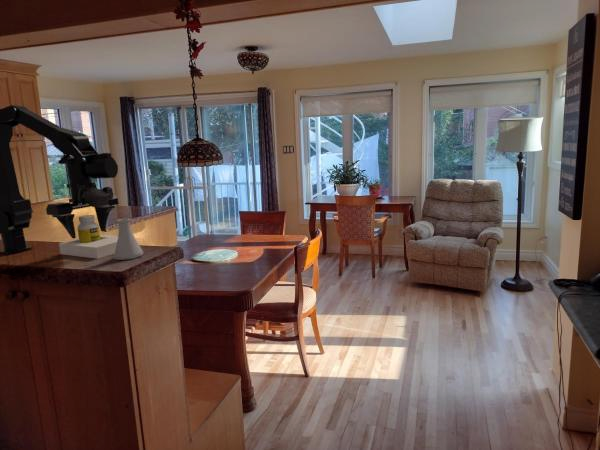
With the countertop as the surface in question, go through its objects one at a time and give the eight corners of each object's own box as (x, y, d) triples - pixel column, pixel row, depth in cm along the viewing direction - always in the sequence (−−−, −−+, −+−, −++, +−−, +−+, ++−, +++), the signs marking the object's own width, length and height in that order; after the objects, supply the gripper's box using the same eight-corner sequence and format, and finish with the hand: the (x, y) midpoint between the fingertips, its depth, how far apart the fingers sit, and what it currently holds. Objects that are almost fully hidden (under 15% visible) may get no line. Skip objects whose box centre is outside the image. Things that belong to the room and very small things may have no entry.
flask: (133, 260, 111) (128, 221, 109) (108, 261, 113) (102, 222, 111) (148, 253, 118) (143, 216, 116) (124, 253, 120) (118, 217, 118)
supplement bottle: (94, 252, 123) (88, 217, 121) (76, 252, 124) (71, 218, 122) (105, 247, 128) (100, 214, 126) (88, 247, 129) (83, 214, 127)
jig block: (60, 254, 123) (59, 243, 123) (98, 243, 134) (97, 234, 133) (98, 258, 115) (96, 247, 115) (135, 247, 126) (133, 237, 125)
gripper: (66, 183, 110) (76, 244, 113) (127, 175, 126) (135, 229, 129) (40, 183, 116) (50, 241, 119) (102, 176, 131) (109, 227, 135)
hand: (88, 234), depth 125 cm, fingers open, 9 cm apart
